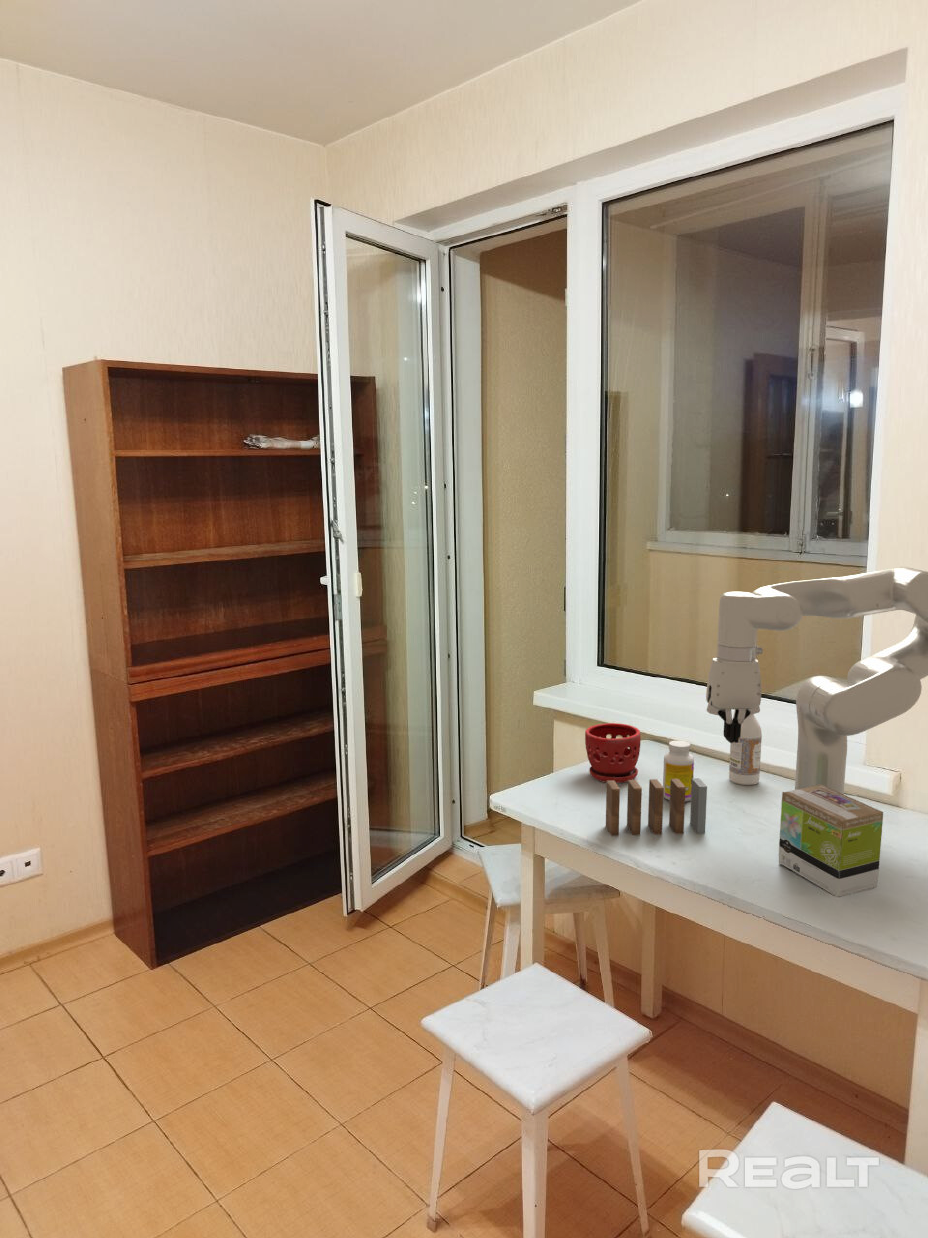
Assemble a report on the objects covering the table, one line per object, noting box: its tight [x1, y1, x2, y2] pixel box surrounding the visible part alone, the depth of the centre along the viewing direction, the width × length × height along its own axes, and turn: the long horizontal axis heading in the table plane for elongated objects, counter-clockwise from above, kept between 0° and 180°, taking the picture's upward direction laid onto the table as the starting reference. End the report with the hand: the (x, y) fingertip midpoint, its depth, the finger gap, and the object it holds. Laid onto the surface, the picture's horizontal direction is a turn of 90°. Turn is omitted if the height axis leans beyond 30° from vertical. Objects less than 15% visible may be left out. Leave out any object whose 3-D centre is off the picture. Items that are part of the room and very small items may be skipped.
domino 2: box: [626, 779, 643, 836], centre depth 185 cm, size 2×5×10 cm, turn 4°
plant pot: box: [584, 722, 642, 785], centre depth 216 cm, size 13×13×12 cm
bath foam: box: [728, 714, 763, 786], centre depth 213 cm, size 7×7×20 cm
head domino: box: [689, 777, 708, 834], centre depth 186 cm, size 2×5×10 cm, turn 3°
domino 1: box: [605, 780, 621, 836], centre depth 185 cm, size 2×5×10 cm, turn 3°
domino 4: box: [668, 779, 686, 835], centre depth 185 cm, size 2×5×10 cm, turn 4°
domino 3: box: [647, 778, 664, 835], centre depth 185 cm, size 2×5×10 cm, turn 4°
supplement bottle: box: [662, 740, 695, 803], centre depth 202 cm, size 7×7×13 cm
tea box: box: [778, 784, 884, 898], centre depth 163 cm, size 15×10×15 cm, turn 23°
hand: (731, 740), depth 184 cm, fingers closed
